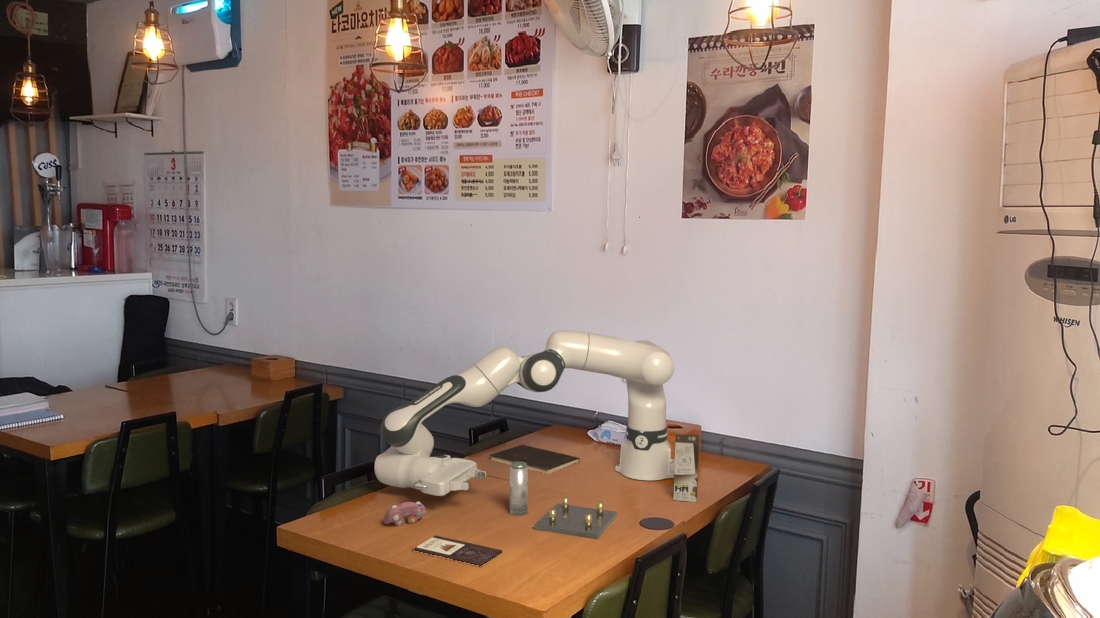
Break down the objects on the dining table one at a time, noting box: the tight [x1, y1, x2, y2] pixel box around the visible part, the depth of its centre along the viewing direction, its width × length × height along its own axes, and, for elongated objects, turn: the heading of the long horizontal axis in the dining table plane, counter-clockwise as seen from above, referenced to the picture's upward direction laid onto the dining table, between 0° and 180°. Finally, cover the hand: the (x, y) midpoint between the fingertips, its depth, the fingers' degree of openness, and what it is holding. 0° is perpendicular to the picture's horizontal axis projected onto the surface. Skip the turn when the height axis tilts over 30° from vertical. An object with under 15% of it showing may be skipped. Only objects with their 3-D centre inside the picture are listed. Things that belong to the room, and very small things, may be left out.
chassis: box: [533, 496, 618, 540], centre depth 200 cm, size 16×16×4 cm
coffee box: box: [672, 434, 700, 503], centre depth 220 cm, size 9×6×16 cm
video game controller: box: [383, 501, 427, 526], centre depth 199 cm, size 10×5×7 cm, turn 118°
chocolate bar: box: [412, 535, 503, 567], centre depth 182 cm, size 9×1×18 cm
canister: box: [509, 461, 529, 517], centre depth 207 cm, size 5×5×13 cm
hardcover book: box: [489, 444, 581, 475], centre depth 252 cm, size 16×23×2 cm
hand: (477, 480), depth 211 cm, fingers open, 8 cm apart
